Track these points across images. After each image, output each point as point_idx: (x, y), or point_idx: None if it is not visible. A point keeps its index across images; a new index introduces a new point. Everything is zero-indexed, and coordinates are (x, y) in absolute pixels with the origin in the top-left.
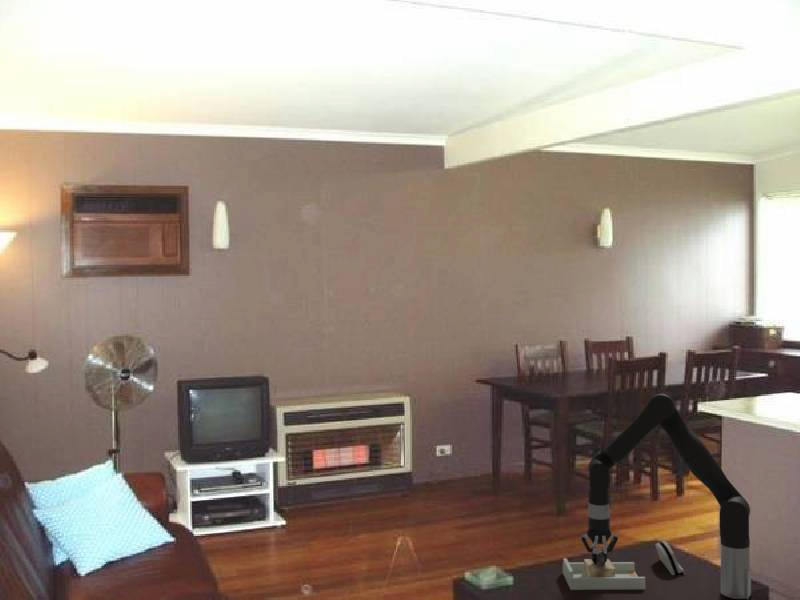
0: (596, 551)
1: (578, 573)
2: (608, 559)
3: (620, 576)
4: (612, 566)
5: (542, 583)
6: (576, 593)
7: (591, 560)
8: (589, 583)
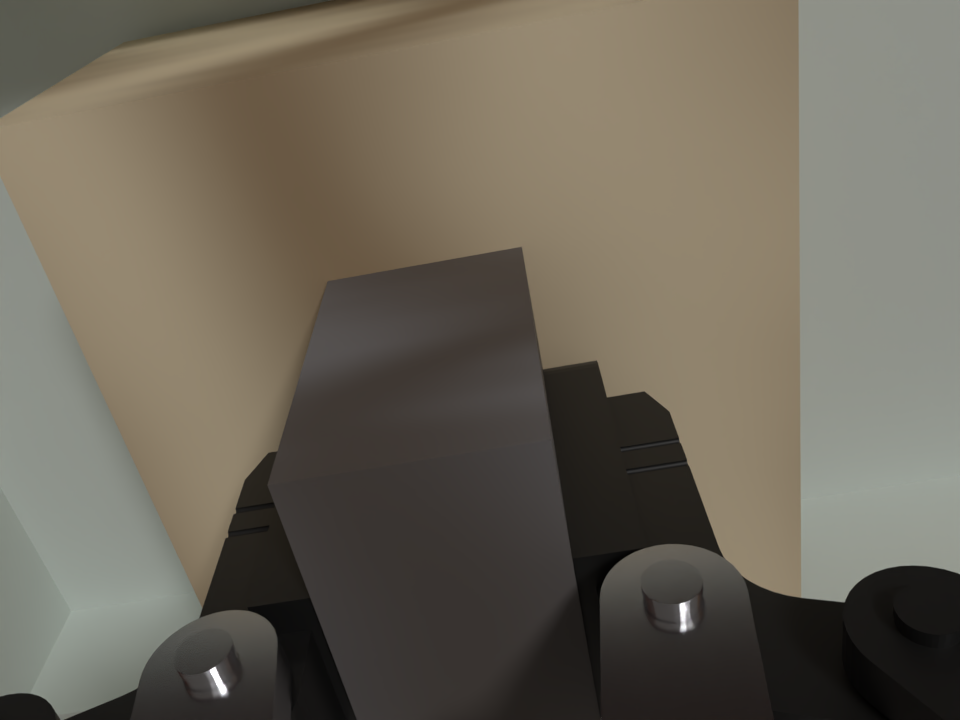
0: (359, 574)
1: (10, 69)
2: (774, 36)
3: (901, 96)
4: (771, 542)
5: None
6: None
7: (231, 226)
8: None
